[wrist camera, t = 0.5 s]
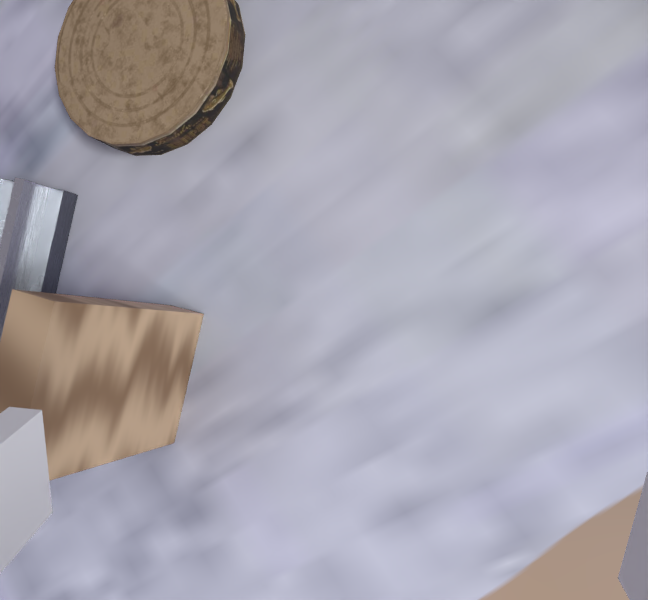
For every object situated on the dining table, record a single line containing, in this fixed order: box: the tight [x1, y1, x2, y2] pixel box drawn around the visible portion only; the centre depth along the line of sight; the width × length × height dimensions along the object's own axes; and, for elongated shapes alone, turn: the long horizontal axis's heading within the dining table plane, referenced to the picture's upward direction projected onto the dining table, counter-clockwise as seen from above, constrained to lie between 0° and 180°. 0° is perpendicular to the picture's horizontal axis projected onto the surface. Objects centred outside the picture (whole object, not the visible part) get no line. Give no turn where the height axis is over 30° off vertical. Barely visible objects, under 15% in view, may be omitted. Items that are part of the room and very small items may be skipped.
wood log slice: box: [55, 0, 245, 156], centre depth 43 cm, size 16×16×3 cm
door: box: [0, 289, 204, 481], centre depth 35 cm, size 10×3×14 cm, turn 166°
